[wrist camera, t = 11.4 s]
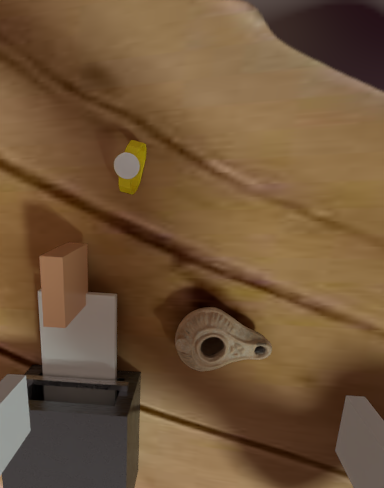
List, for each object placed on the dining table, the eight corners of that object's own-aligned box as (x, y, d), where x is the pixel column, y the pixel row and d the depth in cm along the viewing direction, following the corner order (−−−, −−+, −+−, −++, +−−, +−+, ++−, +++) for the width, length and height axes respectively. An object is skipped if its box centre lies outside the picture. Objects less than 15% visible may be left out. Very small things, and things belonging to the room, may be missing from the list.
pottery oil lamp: (263, 364, 40) (250, 409, 35) (188, 328, 44) (166, 363, 38) (283, 324, 36) (271, 368, 30) (197, 286, 39) (173, 319, 33)
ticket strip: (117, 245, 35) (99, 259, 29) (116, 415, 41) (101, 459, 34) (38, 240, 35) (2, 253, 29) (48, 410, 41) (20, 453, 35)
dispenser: (140, 367, 41) (127, 411, 33) (138, 469, 45) (125, 529, 38) (32, 360, 41) (-7, 401, 34) (39, 462, 46) (6, 520, 38)
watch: (132, 143, 35) (120, 131, 29) (154, 149, 35) (147, 139, 29) (121, 190, 36) (107, 188, 30) (142, 196, 36) (132, 195, 30)
